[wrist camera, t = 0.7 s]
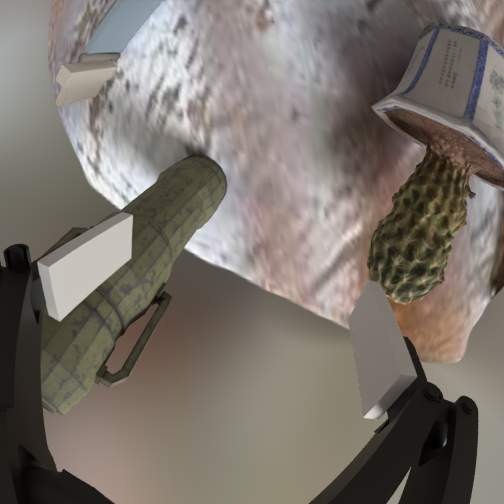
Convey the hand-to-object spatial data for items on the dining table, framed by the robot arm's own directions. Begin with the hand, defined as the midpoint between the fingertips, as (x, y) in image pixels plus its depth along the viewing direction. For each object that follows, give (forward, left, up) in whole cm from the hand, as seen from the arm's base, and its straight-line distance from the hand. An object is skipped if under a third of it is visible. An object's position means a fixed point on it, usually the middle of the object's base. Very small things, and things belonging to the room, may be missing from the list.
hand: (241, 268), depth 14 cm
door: (0, -29, -24) cm, 38 cm away
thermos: (+13, -5, -25) cm, 29 cm away
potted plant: (-15, +9, -25) cm, 30 cm away
